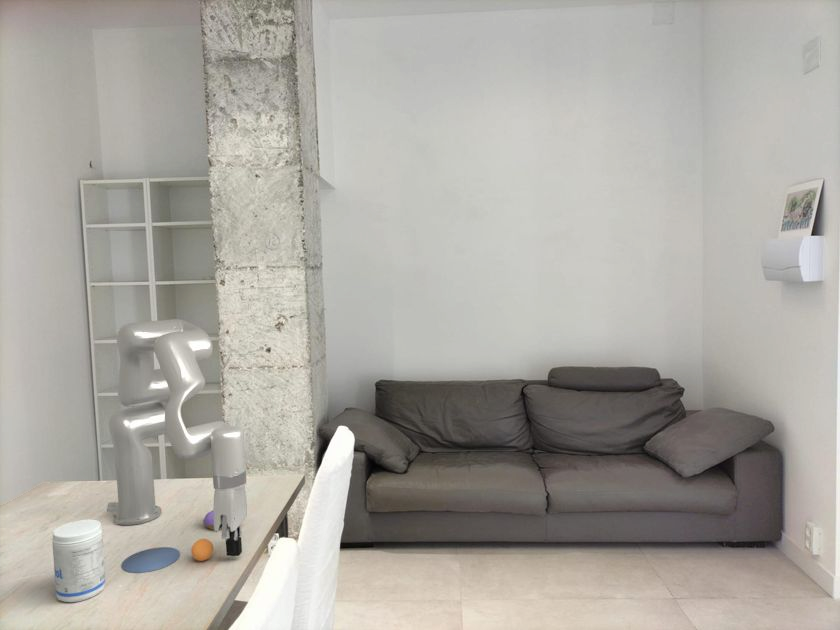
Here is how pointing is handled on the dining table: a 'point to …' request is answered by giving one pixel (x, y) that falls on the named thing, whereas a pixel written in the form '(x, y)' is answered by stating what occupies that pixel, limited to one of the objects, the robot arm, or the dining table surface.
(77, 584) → the supplement tub
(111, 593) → the dining table surface
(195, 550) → the ball
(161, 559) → the disc
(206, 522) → the donut
